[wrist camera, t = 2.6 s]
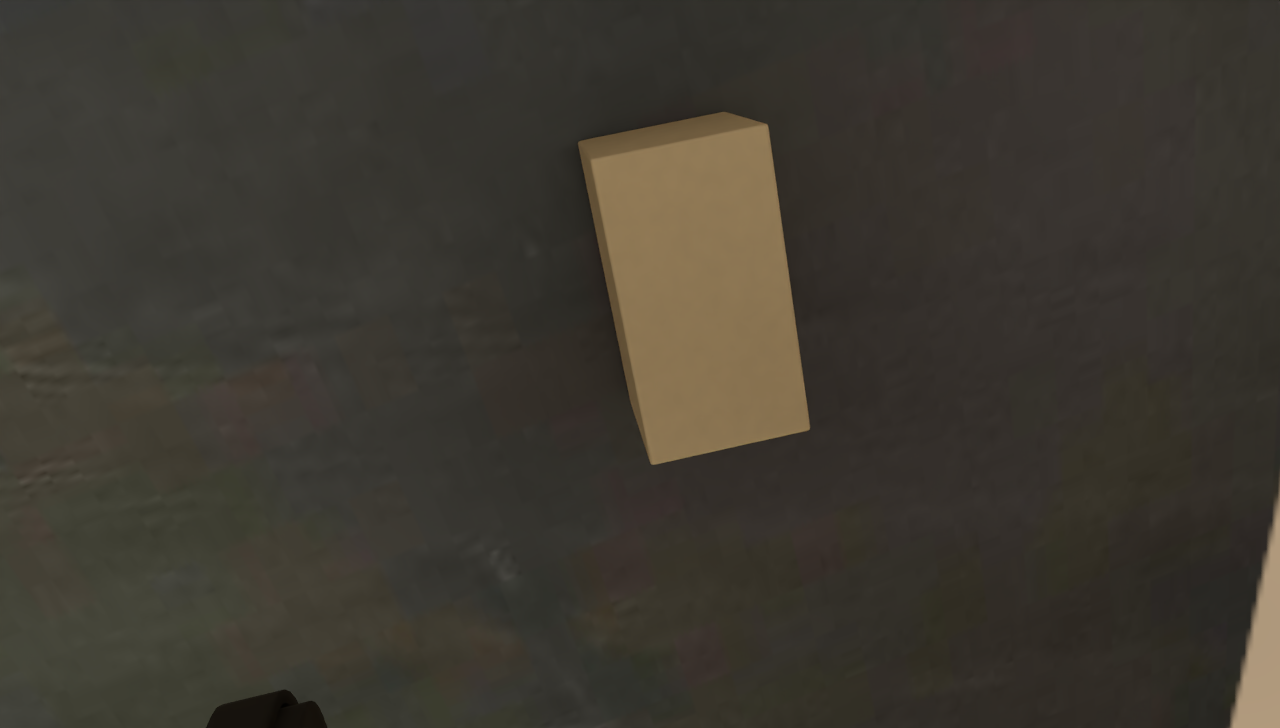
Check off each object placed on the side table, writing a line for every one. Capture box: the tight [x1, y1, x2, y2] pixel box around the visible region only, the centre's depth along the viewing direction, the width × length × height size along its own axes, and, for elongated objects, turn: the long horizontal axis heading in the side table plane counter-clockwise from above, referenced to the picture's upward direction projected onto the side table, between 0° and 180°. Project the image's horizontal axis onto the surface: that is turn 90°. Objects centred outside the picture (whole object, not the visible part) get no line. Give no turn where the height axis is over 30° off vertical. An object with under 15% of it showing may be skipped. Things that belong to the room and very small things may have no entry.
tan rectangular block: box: [578, 112, 810, 465], centre depth 22 cm, size 6×4×4 cm, turn 10°
